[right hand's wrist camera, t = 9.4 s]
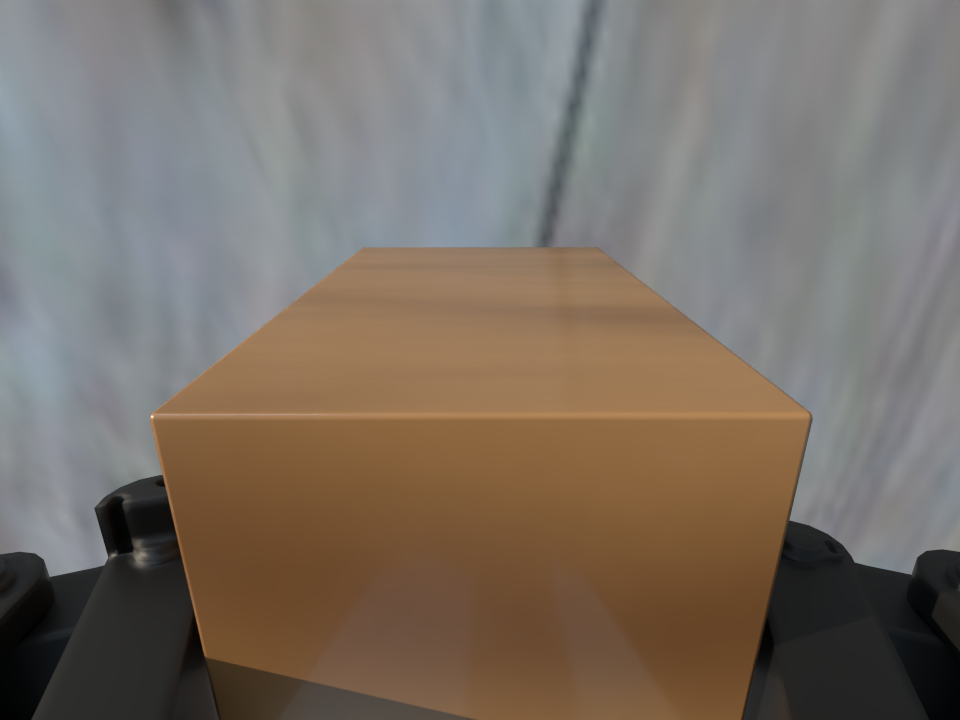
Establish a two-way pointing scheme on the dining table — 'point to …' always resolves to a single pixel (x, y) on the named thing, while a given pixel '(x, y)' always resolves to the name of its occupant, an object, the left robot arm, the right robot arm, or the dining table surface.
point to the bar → (481, 497)
